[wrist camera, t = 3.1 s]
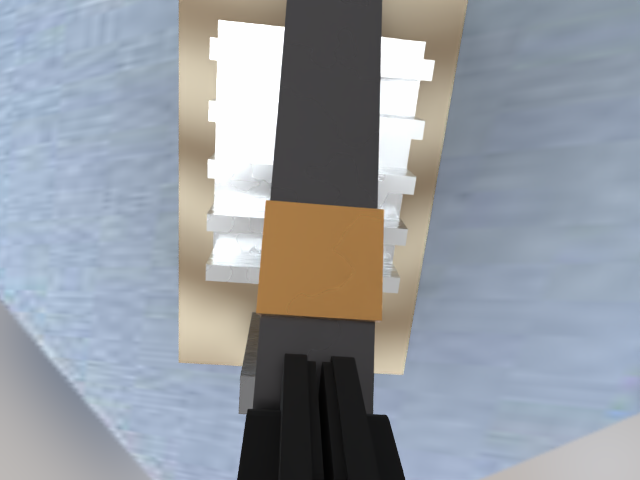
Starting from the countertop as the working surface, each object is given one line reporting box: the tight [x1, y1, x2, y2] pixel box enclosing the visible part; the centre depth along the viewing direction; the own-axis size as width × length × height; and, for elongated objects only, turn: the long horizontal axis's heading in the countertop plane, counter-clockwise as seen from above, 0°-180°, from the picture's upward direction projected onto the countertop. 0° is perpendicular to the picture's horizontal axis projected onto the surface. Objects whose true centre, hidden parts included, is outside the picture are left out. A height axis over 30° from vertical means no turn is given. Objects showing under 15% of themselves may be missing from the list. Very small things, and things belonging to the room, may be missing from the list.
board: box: [179, 0, 468, 375], centre depth 25 cm, size 24×13×2 cm, turn 175°
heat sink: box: [206, 20, 435, 414], centre depth 22 cm, size 22×9×6 cm, turn 175°
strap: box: [253, 0, 384, 414], centre depth 15 cm, size 18×4×2 cm
